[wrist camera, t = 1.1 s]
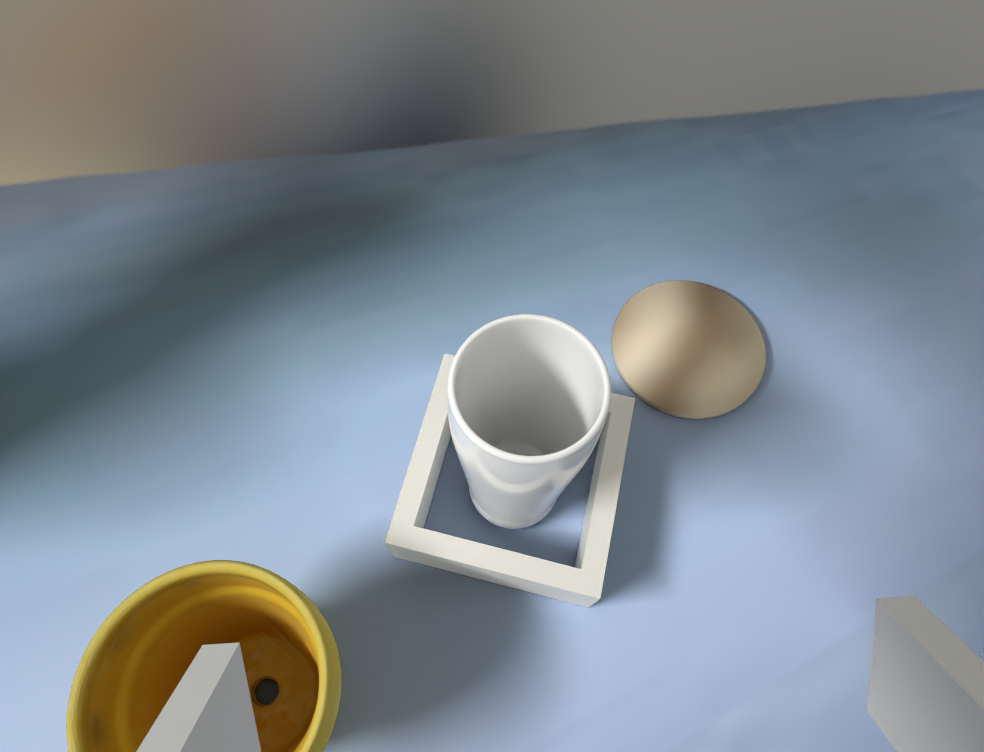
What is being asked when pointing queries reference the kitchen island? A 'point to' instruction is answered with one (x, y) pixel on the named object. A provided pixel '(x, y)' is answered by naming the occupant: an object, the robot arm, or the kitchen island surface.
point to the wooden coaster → (688, 349)
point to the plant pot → (178, 638)
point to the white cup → (525, 413)
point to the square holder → (498, 563)
